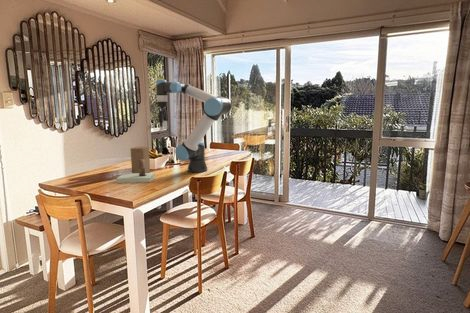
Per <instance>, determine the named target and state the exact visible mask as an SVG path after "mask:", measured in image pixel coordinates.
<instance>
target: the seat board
mask: <svg viewBox="0 0 470 313" xmlns="http://www.w3.org/2000/svg"><path fill="white" fill-rule="evenodd" d="M155 178H156V172H149V173H145V176H139V173H132V172H130V173H129V172H125V173H122V174H120V176H118V177H117V178H116V183H117V184H121V183H122V184H127V183H132V184H133V183H136V184H137V183H151V182H152V181H153V180H154V179H155Z"/></svg>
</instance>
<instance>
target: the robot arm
mask: <svg viewBox="0 0 470 313" xmlns="http://www.w3.org/2000/svg"><path fill="white" fill-rule="evenodd" d="M155 81H156V82H155V87H156V88H155V89H156V90H155V91H156V97H155V99H156V101H157V102H156V106H157V107H158V119H157V120H158V121H157V122H158V123H159V132H164V130H168V121H169V119H168V113H167V107H168V106H169V105H168V94H182V95H186V96H189V97H191V98H192V99H195V100H197V101H200V102H202V103H204V104H203V107H204V108H203V114H202V116H201V118H200V119H199V120H198V121H197V124H196V125H195V127H194V128H193V130H192V132H190V134H189V136H188V137H187V139H184V140H183V142H181V144H179V145H177V146H176V147H175V149H174V153H175V157H176V158H177V159H178V160H179V161H180V162H187V161H189V162H188V165H187V172H189V173H196V174H197V173H204V172H207V171H208V165H207V163H206V161H205V160H206V159H205V158H206V157H205V148H206V147H205V142H204V141H203V139H204V137H205V135H206V134H207V133H208V132H209V129H210V128H212V125H213V124H214V122H217V121H218V120H219V119H220V117H222V115H223V116H224V115H226V114H229V113H230V112H231V109H232V101H231V100H230V99H229V98H227V97H223V96H221V95H215V94H214V93H213V94H212V93H210V92H207V91H205V90H202V89H200V88H197V87H195V86H193V85H190V84H189V83H187V82H179V81H171V82H170V81H169V82H167V79H157V80H155Z"/></svg>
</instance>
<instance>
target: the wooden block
mask: <svg viewBox="0 0 470 313" xmlns="http://www.w3.org/2000/svg"><path fill="white" fill-rule="evenodd" d="M129 151H130V164H131V173H139V164H138V160H139V159H144V162H145V173H151V165H150V149H149V146H143V145H141V146H139V145H137V146H134V147H130V150H129Z"/></svg>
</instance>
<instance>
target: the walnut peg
mask: <svg viewBox="0 0 470 313" xmlns="http://www.w3.org/2000/svg"><path fill="white" fill-rule="evenodd" d="M138 164H139V176H145V162H144V159H139V160H138Z"/></svg>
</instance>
